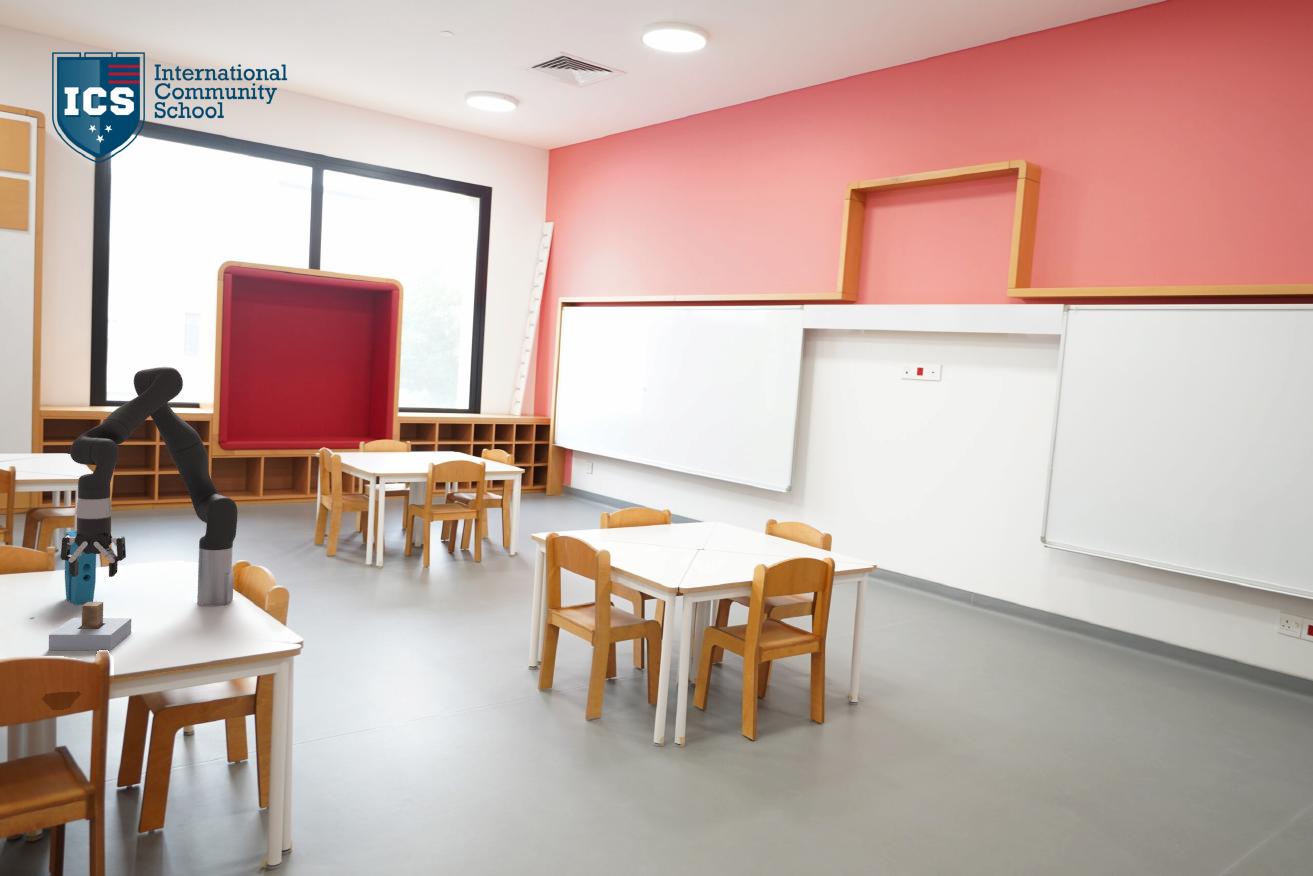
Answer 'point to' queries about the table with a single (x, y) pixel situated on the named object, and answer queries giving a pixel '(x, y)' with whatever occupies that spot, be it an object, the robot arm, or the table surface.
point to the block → (80, 576)
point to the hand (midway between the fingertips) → (93, 576)
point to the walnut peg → (92, 615)
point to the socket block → (89, 635)
